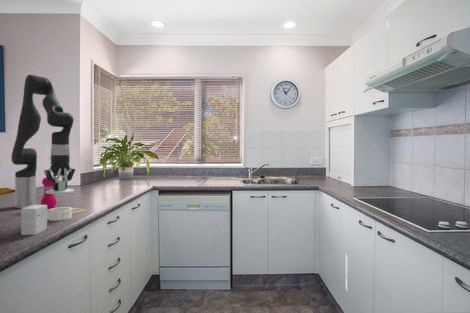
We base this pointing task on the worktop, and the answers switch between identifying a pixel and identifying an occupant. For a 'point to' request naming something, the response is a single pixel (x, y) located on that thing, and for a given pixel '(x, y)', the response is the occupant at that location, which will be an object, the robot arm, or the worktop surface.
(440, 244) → the worktop surface
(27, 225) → the small box
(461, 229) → the worktop surface
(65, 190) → the lid
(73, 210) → the plate
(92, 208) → the worktop surface
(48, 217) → the bowl
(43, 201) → the pepper mill
